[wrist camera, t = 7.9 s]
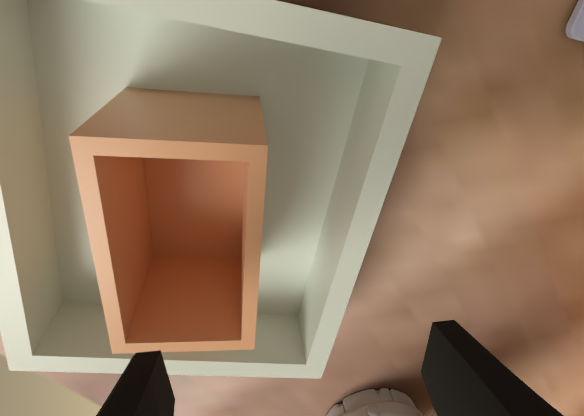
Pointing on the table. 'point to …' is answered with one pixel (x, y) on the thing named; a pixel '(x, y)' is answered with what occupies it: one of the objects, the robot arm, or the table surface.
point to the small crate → (175, 217)
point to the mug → (376, 404)
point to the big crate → (279, 174)
